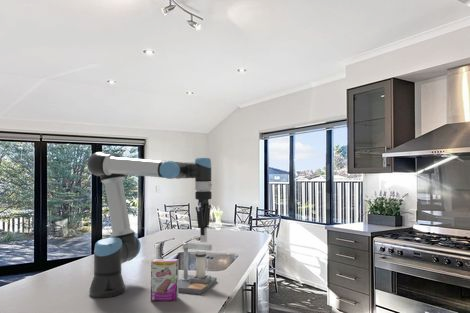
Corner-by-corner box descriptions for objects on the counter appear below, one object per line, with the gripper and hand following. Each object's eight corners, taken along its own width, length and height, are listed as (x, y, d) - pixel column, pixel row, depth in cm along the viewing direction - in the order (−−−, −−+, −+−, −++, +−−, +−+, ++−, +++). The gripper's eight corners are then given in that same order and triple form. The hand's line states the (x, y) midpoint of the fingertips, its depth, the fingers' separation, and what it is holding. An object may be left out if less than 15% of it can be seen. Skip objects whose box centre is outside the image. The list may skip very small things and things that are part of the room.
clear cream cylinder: (203, 283, 166) (203, 253, 166) (193, 282, 167) (193, 252, 168) (207, 280, 171) (207, 250, 171) (198, 279, 172) (198, 250, 173)
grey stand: (201, 294, 156) (201, 256, 157) (167, 291, 161) (168, 253, 162) (217, 281, 175) (217, 247, 176) (187, 278, 180) (187, 245, 181)
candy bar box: (150, 301, 147) (150, 261, 148) (152, 297, 152) (153, 258, 153) (177, 301, 148) (177, 261, 149) (178, 297, 153) (178, 258, 154)
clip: (210, 250, 167) (210, 245, 167) (181, 248, 171) (181, 243, 171) (212, 249, 170) (212, 244, 170) (184, 247, 174) (184, 242, 174)
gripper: (205, 191, 158) (205, 245, 156) (215, 190, 170) (216, 239, 169) (190, 191, 160) (190, 244, 159) (201, 190, 172) (201, 239, 171)
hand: (203, 241), depth 164 cm, fingers closed
